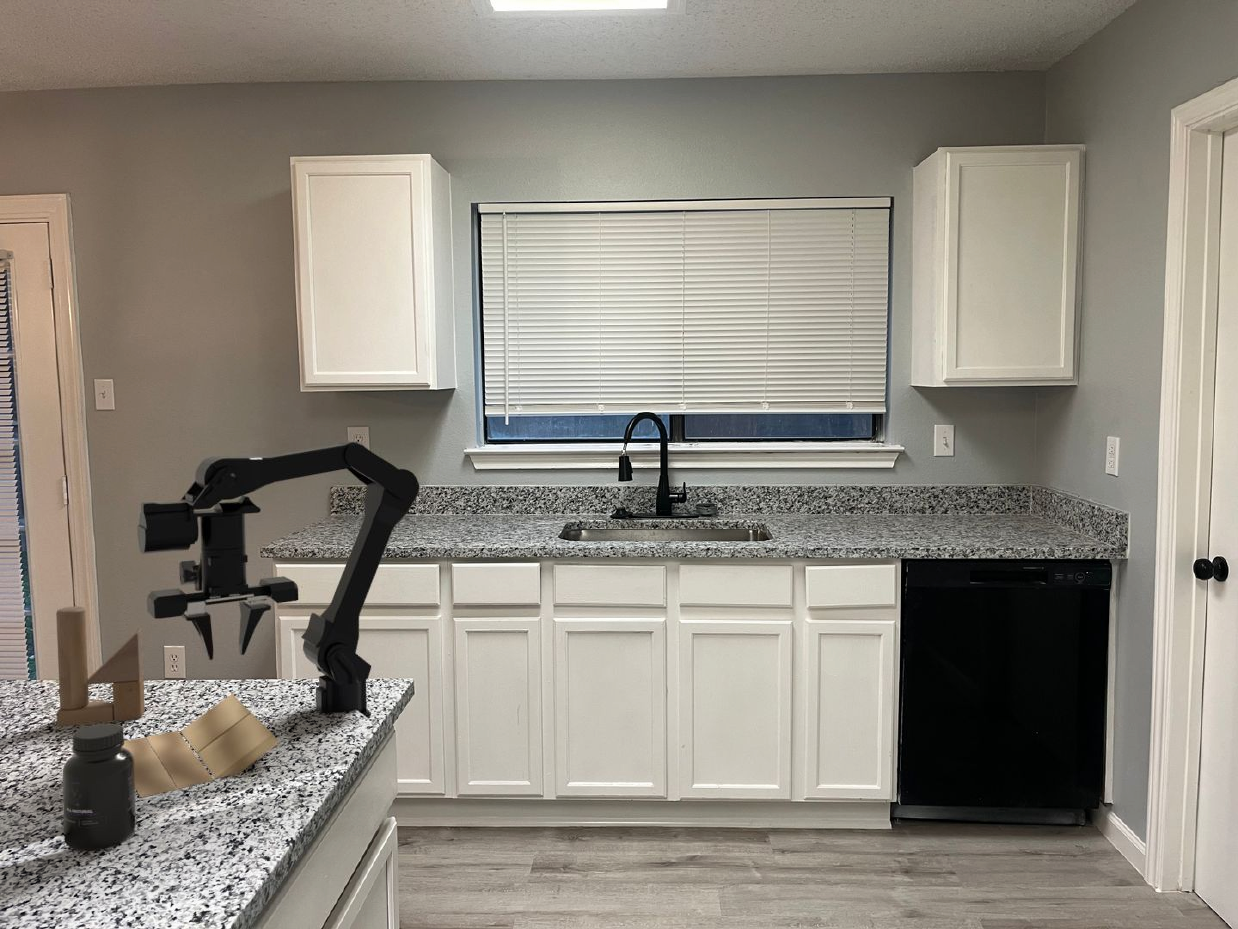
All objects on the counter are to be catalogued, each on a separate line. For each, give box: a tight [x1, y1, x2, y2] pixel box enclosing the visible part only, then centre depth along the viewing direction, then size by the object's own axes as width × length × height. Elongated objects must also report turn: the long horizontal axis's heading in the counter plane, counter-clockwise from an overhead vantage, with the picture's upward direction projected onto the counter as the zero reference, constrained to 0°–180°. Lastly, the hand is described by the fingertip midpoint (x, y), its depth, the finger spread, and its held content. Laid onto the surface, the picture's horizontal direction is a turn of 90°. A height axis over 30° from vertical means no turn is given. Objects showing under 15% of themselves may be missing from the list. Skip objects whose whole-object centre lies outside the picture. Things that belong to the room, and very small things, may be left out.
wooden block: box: [55, 606, 146, 728], centre depth 130 cm, size 4×11×18 cm, turn 110°
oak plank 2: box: [197, 712, 280, 779], centre depth 116 cm, size 8×10×2 cm
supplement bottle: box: [62, 723, 136, 852], centre depth 97 cm, size 7×7×12 cm
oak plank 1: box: [180, 693, 252, 754], centre depth 124 cm, size 8×10×2 cm
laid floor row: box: [122, 730, 215, 799], centre depth 115 cm, size 8×20×2 cm, turn 38°
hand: (226, 657), depth 125 cm, fingers open, 4 cm apart
